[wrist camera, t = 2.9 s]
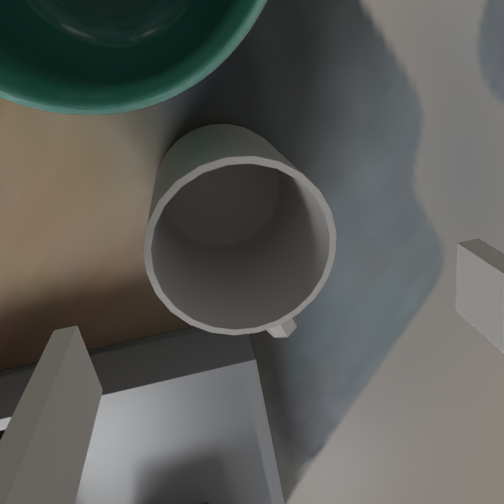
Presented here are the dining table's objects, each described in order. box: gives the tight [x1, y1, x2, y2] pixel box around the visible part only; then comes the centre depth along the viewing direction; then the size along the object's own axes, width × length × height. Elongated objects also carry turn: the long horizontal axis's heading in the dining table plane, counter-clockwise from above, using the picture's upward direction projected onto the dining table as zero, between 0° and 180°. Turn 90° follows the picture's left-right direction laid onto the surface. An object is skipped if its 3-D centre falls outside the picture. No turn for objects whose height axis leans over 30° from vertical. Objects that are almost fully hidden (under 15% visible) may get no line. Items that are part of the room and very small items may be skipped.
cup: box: [143, 124, 336, 338], centre depth 21 cm, size 7×10×9 cm
